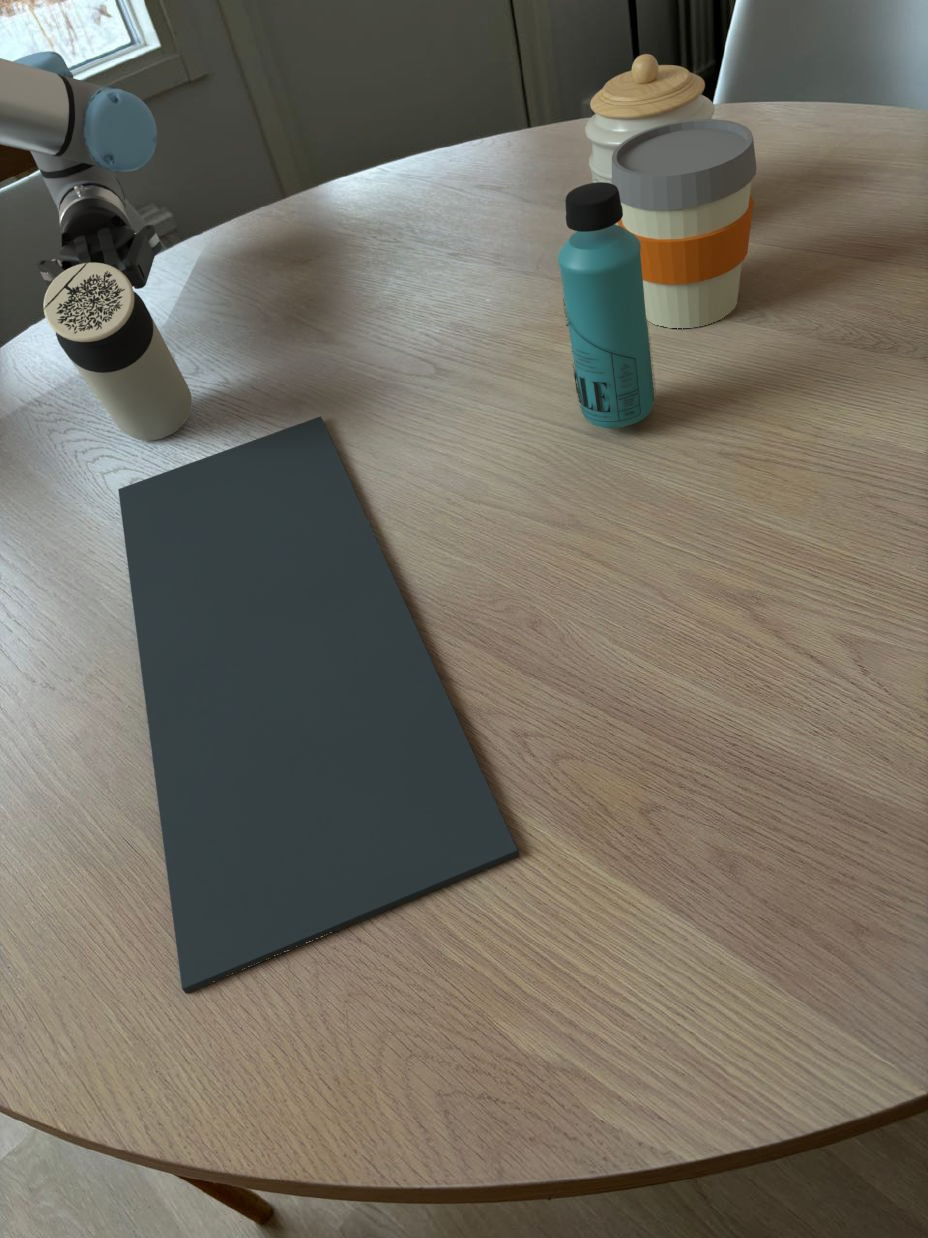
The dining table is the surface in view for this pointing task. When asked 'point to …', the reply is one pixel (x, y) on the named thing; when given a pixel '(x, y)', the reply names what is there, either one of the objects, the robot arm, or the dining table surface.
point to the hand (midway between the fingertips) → (110, 315)
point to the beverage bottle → (606, 309)
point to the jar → (641, 108)
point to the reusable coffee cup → (688, 215)
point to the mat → (290, 708)
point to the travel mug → (118, 350)
